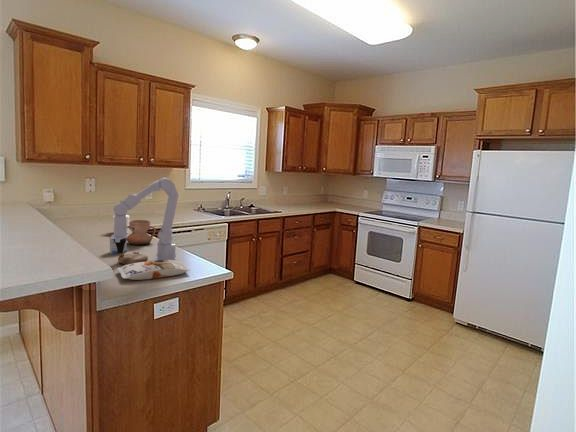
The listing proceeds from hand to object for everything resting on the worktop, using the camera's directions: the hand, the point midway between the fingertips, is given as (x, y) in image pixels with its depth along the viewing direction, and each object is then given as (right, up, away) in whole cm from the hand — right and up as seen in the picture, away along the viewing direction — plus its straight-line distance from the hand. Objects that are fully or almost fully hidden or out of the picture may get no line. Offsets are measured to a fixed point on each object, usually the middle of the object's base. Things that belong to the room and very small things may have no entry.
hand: (120, 253), depth 180 cm
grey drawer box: (+3, -4, +11) cm, 12 cm away
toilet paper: (-31, +7, +66) cm, 73 cm away
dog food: (+22, -9, -12) cm, 26 cm away
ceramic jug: (-7, +2, +41) cm, 42 cm away
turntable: (+6, -4, +2) cm, 7 cm away
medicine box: (-10, -2, +18) cm, 21 cm away
